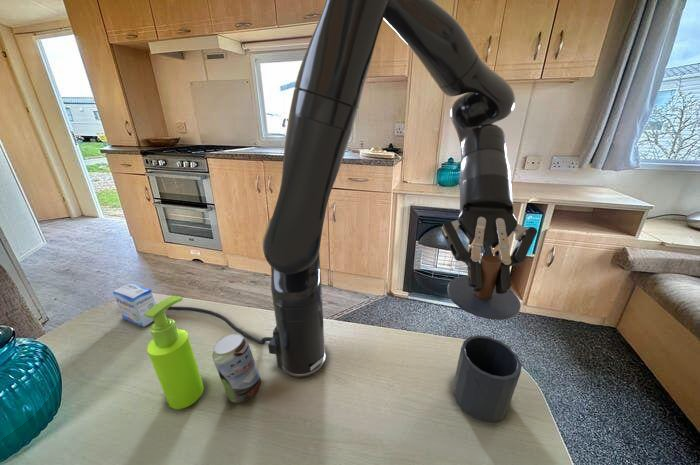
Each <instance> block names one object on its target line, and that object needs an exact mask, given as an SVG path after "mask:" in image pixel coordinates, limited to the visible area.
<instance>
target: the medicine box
mask: <svg viewBox="0 0 700 465" xmlns="http://www.w3.org/2000/svg"><path fill="white" fill-rule="evenodd" d="M112 294H113V296H114V299H115V302H116V304H117V307H118V310H119V312H120V315H121V317H122V319H123V320H124V321H127V322H130V323H132V324H135V325H137V326H140V327H142V328H144V327H146V326H148V325H149V324H151V323H154V320H153V319H152V318H149V317H146V316H145V314H144V313H146V312H147V311H148V310H150V309H151V308H152V307H154V306H155V305H156V304H157V303H156V299H155V297H154V294H153V291H152V289H150V288H147V287H144V286H141V285H138V284H135V283H132V282H129V283H127V284H125V285H122V286H120V287H117V289H115V290H113V291H112Z"/></svg>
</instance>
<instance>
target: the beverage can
mask: <svg viewBox="0 0 700 465" xmlns="http://www.w3.org/2000/svg"><path fill="white" fill-rule="evenodd" d="M212 350H213V351H212V353H211V354H212V356H211V357H212V361H213V363H214V366H215V368H216V371H217V373H218V376H219V378H220V381H221V383H222V385H223V388H224V391H225V392H226V393H225V394H226V395H227V397H228V399H229V401H231V402H232V403H236V404H237V403H239V404H240V403H243V402H247V401H248V400H250V399H251V398H253V397H254V396H255V395H256V394H257V393H258V391H259V390H260V388H261V387H262V386H261V385H262V379H261V375H260V373H259V370H258V367H257V364H256V361H255V358H254V355H253V352H252V349H251V346H250V344H249V341H248V338H246V337H245V336H243V335H241V334H240V333H238V332H235V333H234V332H233V333H229V334H227V335H224V336H223V337H221V338H220V339H218V340H217V341H216V342H215V344H213V347H212Z"/></svg>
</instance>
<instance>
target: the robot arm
mask: <svg viewBox="0 0 700 465" xmlns="http://www.w3.org/2000/svg"><path fill="white" fill-rule="evenodd" d="M383 20H384V21H385V22H386V23H387V24H388V25H389V26H390V28H392V29H393V30H394V31H395V32H396V33H397V35H398V36H399V37H400V38H401V39H402V41H403V42H404V43H405V44H406V45H407V46H408V47H409V49H410V50H411V51H412V52H413V54H414V55H415V56H416V57H417V59H418V60H419V62H420V63H421V64H422V65H423V67H424V68H425V70H426V71H427V72H428V74H429V76H430V77H431V79H433V81H434V83H435V84H436V85H437V86H438V88H439V90H441V92H442V93H443V94H444V95H446V96H447V97H457V96H459V97H458V98H457V99H456V100H455V101H453V103H452V105H451V107H450V108H451V109H450V111H449V116H450V121H451V122H452V126H453V127H454V129H455V132H456V134H457V138H458V141H459V146H460V170H459V180H458V188H459V215H458V217H457V219H455V220H453V221H450V220H446V221H444V222H443V224H442V226H441V229H440V232H441V234H442V236H443V238H444V240H445V242H446V244H447V245H448V248H449V250H450V252H451V254H452V256H453V258H454V260H455V261H457V262H462V263H464V264H466V267H467V276H468V284H469V286H470V287H472V289H473V291H480V290H482V267H481V263H480V261H481V254H482V248H483V246H484V245H485V246H488V247H490V250H491V255H493V256H496V257H498V258H500V259H501V261H502V262H501V266H500V270H499V273H498V277H497V281H496V293H497V294H504V293H506V292H507V290H508V289H510V290H511V287H512V279H511V267H516V266H517V265H519V264H520V263H523V262H524V261H525V259H526V257H527V255H528V253H529V251H530V248H531V246H532V245H533V242H534V240H535V238H536V236H537V233H538V229H537V228H536V227H534V226H529V227H525V226H524V225H521V224H519V223H518V222H519V221H518V219H517V217H515V215H514V198H513V187H512V177H511V176H512V175H511V168H510V164H509V159H508V155H507V154H508V150H507V139H506V133H505V132H504V130H503V128H502V127H500V126H499V125H497V124H496V123H497V122H500V121H502V120H504V119H506V118H507V117H509V116H510V115H511V114H512V112H513V111H514V108H515V105H516V96H515V91H514V90H513V88H512V86H511V85H510V84H509V82H507V81H506V80H505V79H504V78H503V77H502V76H500V75H499V74H498V73H497V72H495V71H494V70H493V69H492V68H490V67H489V66H488V65H487V64H486V63H485V61H483V60H482V59H481V58H480V55H479V54H478V52H477V50H476V49H475V47H474V44H473V43H472V42H471V39H470V38H469V36H468V34H467V33H466V31H465V29H464V28H463V26H462V25H461V24H460V23H459V22H458V21H457V20H456V19H455V18H454V16H452V14H451V13H449V12H448V11H447V10H445V9H444V8H443V7H442V6H441V5H439V4H438V3H437V2H435V1H434V0H325V3H324V6H323V8H322V12H321V13H320V16H319V19H318V22H317V24H316V26H315V29H314V31H313V33H312V35H311V38H310V40H309V43H308V45H307V48H306V50H305V53H304V55H303V58H302V61H301V63H300V65H299V66H300V67H299V70H298V73H297V76H296V80H295V84H294V90H293V94H292V97H291V103H290V108H289V113H288V119H287V120H288V121H287V126H286V132H285V133H286V134H285V141H284V150H283V160H282V162H283V163H282V174H281V183H280V187H279V192H278V196H277V200H276V204H275V206H274V209H273V213H272V215H271V217H270V218H269V221H268V222H267V224H266V228H265V232H264V234H263V238H262V252H263V254H264V258H265V260H266V262H267V263H268V265H269V266H270V290H271V297H272V303H273V311H274V319H275V327H274V329H273V330H272V336H264V337H262V338H261V339H259V338H256V337H255V336H252V335H250V334H249V333H247V332H245V331H244V330H242V329H241V328H239V327H237V326H236V325H235V324H234V323H233V322H232V321H231V320H230V319H228V317H226V316H224V315H222V314H220V313H218V312H216V311H213V310H209V309H206V308H205V309H204V308H198V307H193V306H171V307H169V308H168V309H167V310H168V311H191V312H197V313H202V314H203V313H204V314H208V315H211V316H213V317H216V318H218V319H220V320H222V321H224V322H225V323H226V324H227V325H228V326H229V327H230V328H231V329H233V331H235V332H236V333H238V334H241V335H242V337H244V338H246V339H247V340H249V341H253V342H255V343H257V344H260V345H265V344H266V342H268V343H267V346H268V353H269V354H271V355H275V357H276V362H277V363H276V366H277V368H280V369H281V370H283V372H284V373H285V374H286V375H288V376H289V377H292V378H298V379H299V378H307V377H310V376H313V375H314V374H316V373H318V372H319V371H320V370H321V369H322V368H323V366H324V364H325V362H326V347H325V329H324V327H325V326H324V308H323V289H322V288H323V286H322V271H321V270H322V269H321V255H320V251H321V243H322V242H321V241H322V235H323V230H324V222H325V218H326V213H327V209H328V204H329V200H330V195H331V194H332V190H333V187H334V184H335V182H336V179H337V177H338V174H339V171H340V168H341V166H342V162H343V159H344V156H345V153H346V150H347V147H348V144H349V141H350V138H351V135H352V132H353V128H354V125H355V122H356V118H357V114H358V110H359V107H360V104H361V99H362V95H363V92H364V87H365V84H366V80H367V77H368V73H369V70H370V67H371V63H372V59H373V56H374V52H375V48H376V45H377V44H376V43H377V40H378V37H379V32H380V29H381V26H382V22H383ZM459 229H460V230H461V232H462V233H463V234H464V236H465V237H466V238H467V239H468V244H467V250H466V247H465V246H464V244H463V242H462V239H461V238H460V236H459V233H460V230H459ZM513 232H514V235H515V236H514V239H515V240H516V241H517V242H516V244H515V246H514V248H513V251H512V253H511V254H510V242H509V237H510V236H511V234H512V233H513ZM167 310H166V311H167Z"/></svg>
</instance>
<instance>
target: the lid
mask: <svg viewBox="0 0 700 465" xmlns="http://www.w3.org/2000/svg"><path fill="white" fill-rule="evenodd" d="M501 262H502V261H501V259H500V258H498V257H496V256H494V255H493V254H483V255H482V256H480V260H479V263H481V267H482V290H480V291H473V289H472V287H470V286H469V284H468V275H463V276H458V277H455V278H453V279H452V280H450V282H449V283H448V285H447V290H446V291H447V295H448V297H449V299H450V300H451V301H452V303H453V304H455V305H456V306H457V308H460V309H461V310H462V311H465V313H469V314H470V315H473V316H476V317H479V318H482V319H486V320H494V321H495V320H496V321H499V320H501V321H504V320H509V319H512V318H514V317H515V316H517V315H518V314H519V313H520V310H521V307H522V305H521V304H522V303H521V300H520V298H519V297H518V295H517V294H516V293H515V292H514V291H513V290H512V289H511V288H510V289H508V290H507V292H506V293H504V294H497V293H496V281H497V277H498V273H499V270H500V266H501Z"/></svg>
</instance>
